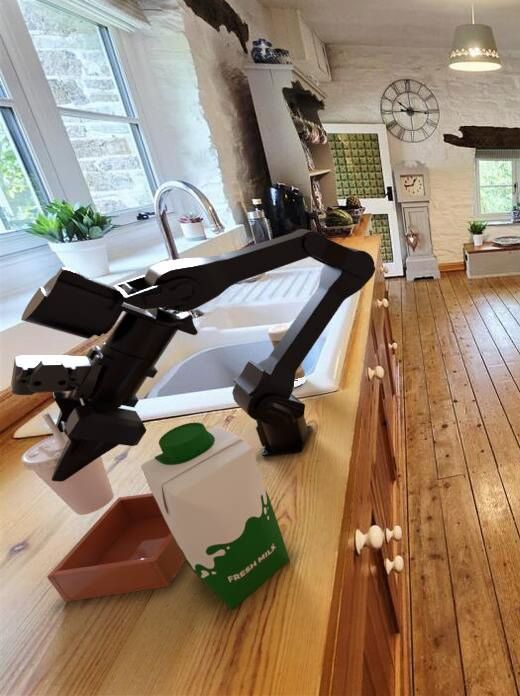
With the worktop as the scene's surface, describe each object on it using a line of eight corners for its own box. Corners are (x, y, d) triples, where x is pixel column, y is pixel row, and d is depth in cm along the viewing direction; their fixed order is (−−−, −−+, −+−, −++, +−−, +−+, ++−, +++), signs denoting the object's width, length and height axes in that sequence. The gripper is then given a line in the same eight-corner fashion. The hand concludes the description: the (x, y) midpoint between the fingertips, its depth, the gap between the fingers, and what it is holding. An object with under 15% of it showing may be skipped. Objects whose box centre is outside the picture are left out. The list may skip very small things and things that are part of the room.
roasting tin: (217, 509, 59) (206, 485, 57) (169, 586, 49) (155, 560, 47) (131, 520, 58) (118, 497, 56) (65, 602, 47) (46, 576, 46)
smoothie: (99, 522, 50) (42, 431, 45) (45, 526, 50) (-20, 435, 44) (139, 481, 56) (93, 397, 50) (91, 485, 56) (38, 400, 50)
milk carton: (262, 527, 56) (215, 405, 48) (301, 558, 51) (257, 430, 43) (189, 582, 49) (121, 451, 41) (228, 624, 45) (160, 486, 37)
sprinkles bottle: (303, 375, 92) (289, 321, 87) (309, 383, 89) (294, 328, 84) (281, 383, 90) (265, 327, 84) (287, 392, 86) (270, 334, 81)
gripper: (40, 309, 52) (-45, 424, 49) (55, 350, 41) (-54, 504, 37) (143, 340, 60) (76, 440, 57) (179, 382, 49) (99, 508, 46)
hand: (54, 467), depth 49 cm, fingers closed on smoothie, 6 cm apart
